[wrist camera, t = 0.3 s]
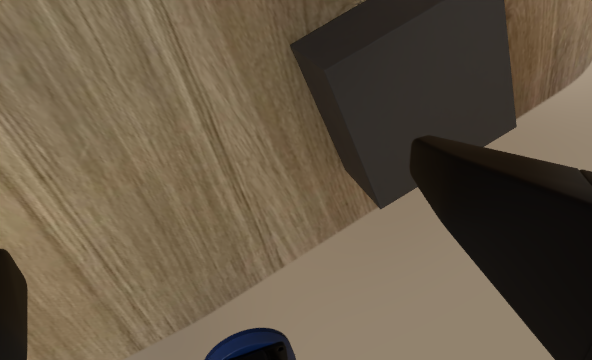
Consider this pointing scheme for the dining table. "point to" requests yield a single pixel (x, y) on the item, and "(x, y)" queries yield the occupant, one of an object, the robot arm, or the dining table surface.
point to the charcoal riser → (408, 83)
